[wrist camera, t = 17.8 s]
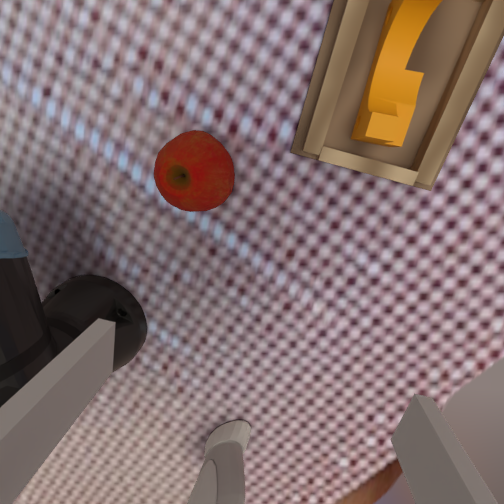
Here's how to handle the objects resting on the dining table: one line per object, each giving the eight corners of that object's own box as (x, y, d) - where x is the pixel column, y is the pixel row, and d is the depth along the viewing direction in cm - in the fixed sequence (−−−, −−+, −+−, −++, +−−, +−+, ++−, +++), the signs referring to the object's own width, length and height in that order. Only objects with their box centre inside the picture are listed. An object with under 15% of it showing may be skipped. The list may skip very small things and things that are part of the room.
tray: (290, 152, 33) (290, 152, 30) (346, -45, 27) (354, -71, 24) (426, 189, 33) (441, 193, 30) (515, -3, 27) (546, -24, 23)
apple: (197, 119, 33) (157, 105, 23) (255, 162, 34) (240, 166, 24) (163, 179, 36) (115, 189, 26) (218, 217, 37) (191, 241, 27)
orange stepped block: (390, 147, 31) (415, 145, 25) (350, 139, 31) (365, 136, 25) (435, 12, 27) (478, -29, 21) (389, 4, 27) (418, -39, 21)
